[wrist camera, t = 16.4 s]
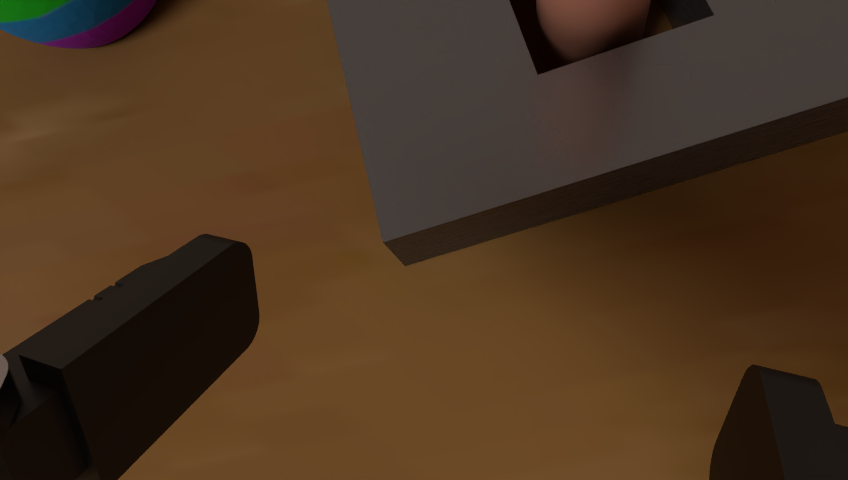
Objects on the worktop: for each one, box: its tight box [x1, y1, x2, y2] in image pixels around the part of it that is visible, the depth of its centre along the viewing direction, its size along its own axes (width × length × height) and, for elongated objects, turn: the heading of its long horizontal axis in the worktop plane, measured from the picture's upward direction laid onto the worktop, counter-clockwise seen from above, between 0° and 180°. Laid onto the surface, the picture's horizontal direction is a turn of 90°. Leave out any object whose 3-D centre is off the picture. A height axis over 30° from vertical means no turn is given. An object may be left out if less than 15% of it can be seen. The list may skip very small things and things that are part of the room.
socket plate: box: [327, 0, 848, 266], centre depth 18 cm, size 16×12×2 cm
